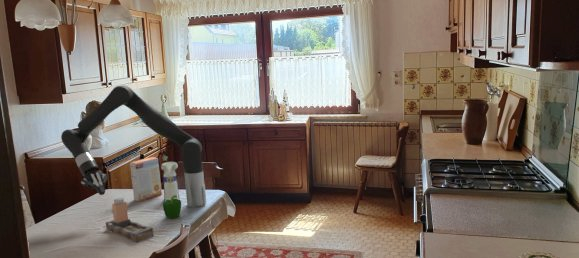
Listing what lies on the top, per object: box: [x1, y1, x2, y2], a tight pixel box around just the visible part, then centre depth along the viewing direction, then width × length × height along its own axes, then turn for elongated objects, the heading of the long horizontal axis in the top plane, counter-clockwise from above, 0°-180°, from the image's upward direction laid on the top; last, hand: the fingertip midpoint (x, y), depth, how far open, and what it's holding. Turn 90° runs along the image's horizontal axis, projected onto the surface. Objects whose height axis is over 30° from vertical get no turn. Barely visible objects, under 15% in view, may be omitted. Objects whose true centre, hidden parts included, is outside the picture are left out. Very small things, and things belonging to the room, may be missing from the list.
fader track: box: [105, 219, 154, 243], centre depth 193 cm, size 24×8×4 cm, turn 50°
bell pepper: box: [162, 195, 182, 220], centre depth 209 cm, size 8×8×10 cm
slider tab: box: [111, 197, 130, 227], centre depth 195 cm, size 5×6×12 cm
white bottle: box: [160, 154, 180, 202], centre depth 235 cm, size 8×9×25 cm
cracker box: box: [129, 156, 163, 202], centre depth 240 cm, size 14×6×21 cm, turn 141°
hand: (103, 193), depth 203 cm, fingers closed
